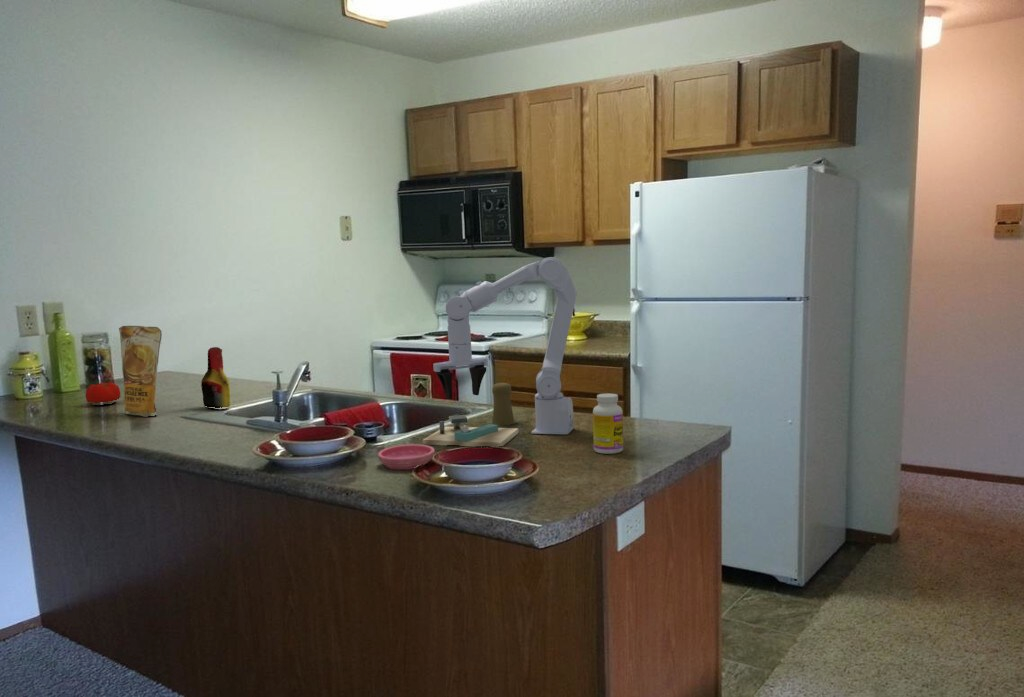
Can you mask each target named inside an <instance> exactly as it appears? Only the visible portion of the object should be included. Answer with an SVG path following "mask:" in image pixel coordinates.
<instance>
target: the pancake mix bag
mask: <svg viewBox="0 0 1024 697" xmlns="http://www.w3.org/2000/svg"><path fill="white" fill-rule="evenodd" d="M118 330H119V337H120V352H121V353H120V354H121V372H122V376H123V377H122V379H123V384H124V385H123V387H124V388H123V389H124V390H123V391H124V412H125V411H129V412H137V413H155V412H156V410H157V408H156V403H155V398H156V389H157V388H156V386H157V376H158V365H159V357H160V356H159V355H160V347H161V344H162V343H161V342H162V329H160V328H159V327H158V326H143V325H142V326H141V325H122V326H120V327H118Z"/></svg>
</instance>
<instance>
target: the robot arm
mask: <svg viewBox="0 0 1024 697" xmlns="http://www.w3.org/2000/svg"><path fill="white" fill-rule="evenodd" d="M538 277H540V279H541V280H542V281H543V282H545V283H546V284H547V285H548V286H549V287H550V288H551V289H552V291H553V292H554V293H555V295H556V296H557V298H556V303H555V308H554V313H553V317H552V322H551V326H550V331H549V335H548V336H549V337H548V340H547V345H546V350H545V354H544V355H545V356H544V358H543V362H542V367H541V369H540V370H539V372H538V373H537V375H536V376H535V384H536V385H535V388H536V391H537V393H536V394H534V408H535V409H534V412H535V415H534V416H535V428H534V429H532V431H531V432H530V433H531V434H532V435H533V434H534V435H535V434H539V435H540V434H541V435H542V434H543V435H569V434H570V433H571V432H572V430H574V428H575V426H574V404H573V399H572V398H571V397H565V396H564V393H563V392H561V390H562V382H561V381H562V380H561V372H562V363H563V360H564V354H565V350H566V345H567V341H568V336H569V333H570V326H571V322H572V317H573V314H574V308H575V306H576V305H575V304H576V298H577V293H578V292H577V289H576V286H575V284H574V282H573V280H572V277H571V275H570V272H569V269H568V268H567V267H566V266H565V264H563V262H562V261H561V260H560V259H559V258H556V257H552V256H550V257H549V256H548V257H546V258H544V259H542V260H541V261H540V260H538V261H535V262H532V263H529V264H526V265H523V266H522V267H520V268H519V269H516V270H515V271H513V272H511V273H509V274H508V275H505V276H503V277H502V278H500V279H498V280H496V281H495V282H490V281H487V280H484V281H483V282H482V280H479V281H478V282H476V283H475V286H473V287H471V288H469V289H467V290H465V291H464V290H461V291H459V295H458V296H457V295H454V296H452V297H451V298H450V299H449V300H448V301H447V302H446V304H445V313H446V315H447V316H448V317H447V324H448V325H447V337H448V339H447V340H448V342H447V343H448V358H449V359H448V361H443V362H441V361H440V362H434V363H433V364H432V365H433V366H432V367H433V372H435V375H436V376H437V378H438V379H439V381H440V383H441V386H442V387H443V388H442V389H443V391H444V394H445V398H446V399H448V400H452V399H453V377H454V373H453V372H451V371H452V370H459V369H460V370H461V369H469V373H470V379H471V391H472V392H471V393H472V395H474V396H479V394H480V391H481V390H480V389H481V386H482V381H483V378H484V376H485V374H486V372H487V367H488V365H489V363H488V358H486V357H480V358H478V357H477V358H473V354H472V352H473V351H472V337H471V334H472V333H471V324H470V315H469V314H470V313H475V312H478V311H479V310H481V309H483V308H486V307H487V306H489V305H492V304H494V303H495V302H496V301H497V300H498V297H499V294H501V293H504V292H505V291H508V290H509V289H511V288H513V287H516V286H517V285H520V284H522V283H524V282H526V281H539V278H538Z"/></svg>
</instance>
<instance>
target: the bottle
mask: <svg viewBox="0 0 1024 697" xmlns="http://www.w3.org/2000/svg"><path fill="white" fill-rule="evenodd" d="M200 384H201V385H200V387H201V393H202V398H203V399H202V402H203V406H204V407H205V406H207V407H215V408H220V407H221V408H222V407H229V406H230V407H231V384H230V380H229V379H228V377H227V375H226V374H225V372H224V359H223V348H220V347H218V346H214V347H213V346H212V347H210V348H208V350H207V371H206V372H205V374H204V376H202V379H201V382H200ZM230 407H229V408H230Z"/></svg>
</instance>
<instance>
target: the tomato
mask: <svg viewBox="0 0 1024 697" xmlns="http://www.w3.org/2000/svg"><path fill="white" fill-rule="evenodd" d="M119 398H120V399H121V390H120V387H119V386H118V385H117V384H116V383H115V382H112V381H108V382H99V383H97V384H90V385H89V386H88V387H87V388H86V390H85V399H86V401H87V403H88V402H93V403H94V402H95V403H98V402H108V401H113V400H117V399H119ZM120 399H119V400H120Z"/></svg>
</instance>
